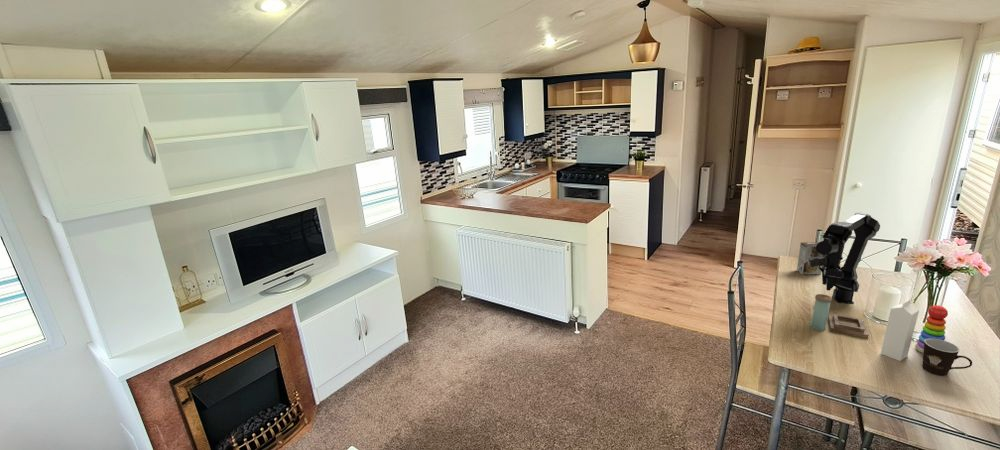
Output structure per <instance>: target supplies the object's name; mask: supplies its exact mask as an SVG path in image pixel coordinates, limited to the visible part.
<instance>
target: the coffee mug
mask: <svg viewBox="0 0 1000 450" xmlns="http://www.w3.org/2000/svg"><path fill="white" fill-rule="evenodd" d="M959 352H960V347H958V346H957V345H955V344H954V343H953V342H952V343H951V342H949V341H947V340H945V341H944V340H940V339H933V338H929V339H925V340H924V352H923V353H922V363H921V365H922V366H921V367H922V369H923V370H924V371H926V372H928V373H929V374H932V375H935V376H941V377H943V376H947V375H948V374H949V371H951V370H963V369H968V368H971V367H972V366H973V361H972V360H971V359H970V358H969V357H967V356H965V355H958V354H959ZM959 358H961V359H966V360H967V361H969V365H965V366H953V364H954V362H955V360H957V359H958V360H959Z"/></svg>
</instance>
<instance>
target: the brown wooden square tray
mask: <svg viewBox="0 0 1000 450" xmlns="http://www.w3.org/2000/svg"><path fill="white" fill-rule="evenodd" d="M827 320H828V324H829V330H830V332H833V333H839V334H843V335H847V336H852V337H853V336H854V337H858V338H864V339H869V332H868V329H867V326H866V323H865V320H864V321H863V320H862V318H857V317H852V316H846V315H842V314H841V315H840V314H838V313H837V314H836V313H833V315H829V314H828V318H827Z"/></svg>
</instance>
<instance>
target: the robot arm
mask: <svg viewBox="0 0 1000 450" xmlns="http://www.w3.org/2000/svg"><path fill="white" fill-rule="evenodd" d="M880 229H881V224H880V223H879V221H878V220H877V219H875V218H874V217H872V216H871V214H868V213H863V212H856V213H854V215H852V216H851V217H849V218H847V219H845V220H843V221H836V222H832V223H831V224H830V225H828V227H827V229H826V230H825V232H824V234H823V235H822V239H823V240H822V241H818V242H819V243H818V244H817V245H816V250H817V251H818V253H820V254H822V255H823V256H820V257H811V258H808V262H809V265H810V267H814V266H819V267H818V268H819V269H820V270H821V281H822V285H823V286H826V288H825V289H826V291H831V290H832V289H833V288H834V287H835V288H834V289H833V291H832V295H831V298H832V299H834V301H836V303H842V304H844V303H845V304H855V302H854V301H853V299H854V293H857V292H858V291H859V289H860V284H859V282H858V273H857V268H858V266H859V264H860V261H861V258H862V256H863V254H864V252H865V249H866V247H867V245H868V242H869V240H871V239H872V238H874V237H875V236H876V235H877V233H878V232H879V231H880ZM853 232H854V236H855V237H854V239H853V242H852V244H851V246H850V250H849V252H848V254H847V257H846V259H845V262H844V263H843V266H840V265H841V262H842V261H843V259H844V257H843V253H844V249H845V245H846V244H847V241H849V239H850V238H851V237H852V235H853ZM820 266H821V267H820Z"/></svg>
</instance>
